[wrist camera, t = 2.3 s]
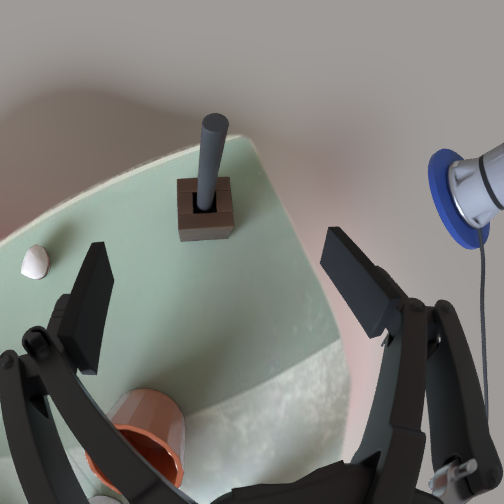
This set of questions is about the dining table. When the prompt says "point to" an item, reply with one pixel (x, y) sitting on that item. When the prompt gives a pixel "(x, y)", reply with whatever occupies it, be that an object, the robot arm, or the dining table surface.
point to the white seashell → (36, 262)
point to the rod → (210, 159)
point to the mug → (103, 500)
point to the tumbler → (150, 432)
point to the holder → (204, 223)
